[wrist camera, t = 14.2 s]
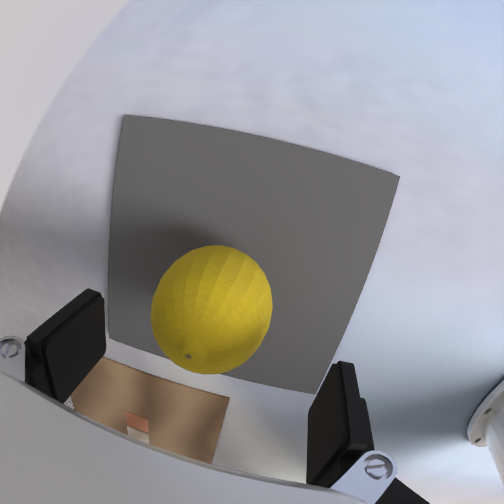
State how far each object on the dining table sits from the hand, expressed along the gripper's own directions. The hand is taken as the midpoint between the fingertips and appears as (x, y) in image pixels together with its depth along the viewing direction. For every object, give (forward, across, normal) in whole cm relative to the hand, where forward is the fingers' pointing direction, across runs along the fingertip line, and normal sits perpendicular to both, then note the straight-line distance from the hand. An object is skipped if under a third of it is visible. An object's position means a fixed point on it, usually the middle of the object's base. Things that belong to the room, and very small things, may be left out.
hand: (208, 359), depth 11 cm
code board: (+8, +7, +20) cm, 22 cm away
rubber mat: (+8, +1, 0) cm, 8 cm away
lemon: (+8, +1, 0) cm, 8 cm away
